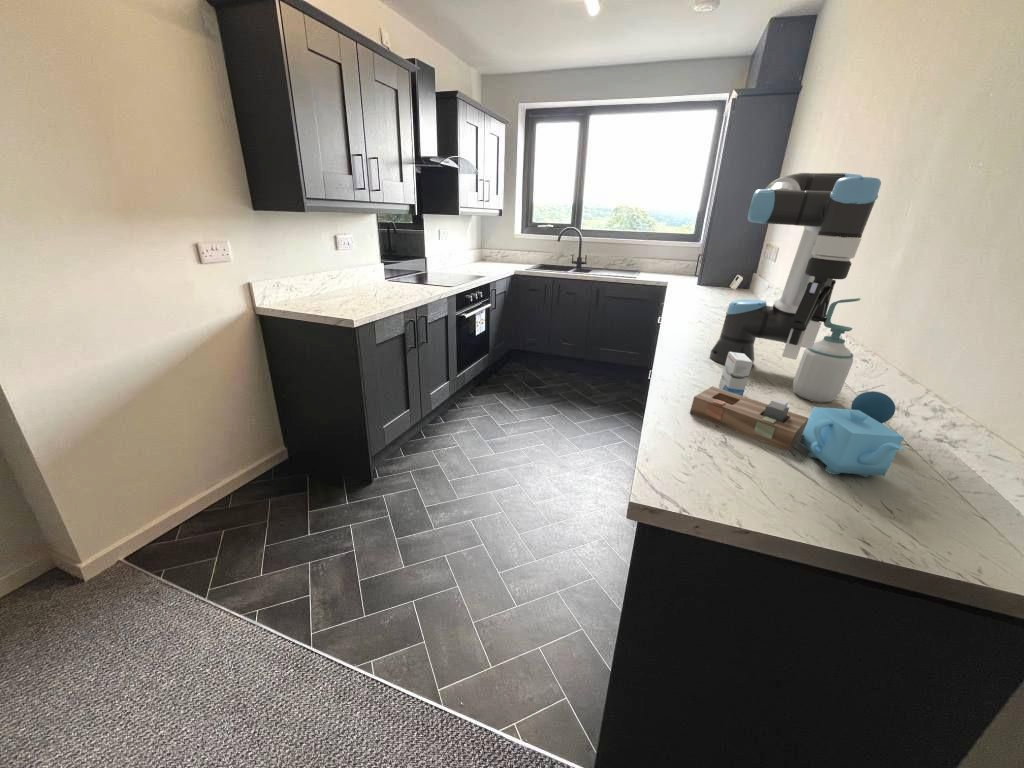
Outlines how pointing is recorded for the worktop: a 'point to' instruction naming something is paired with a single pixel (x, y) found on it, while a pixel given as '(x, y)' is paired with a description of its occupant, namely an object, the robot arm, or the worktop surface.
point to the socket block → (748, 417)
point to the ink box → (735, 373)
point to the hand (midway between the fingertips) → (797, 352)
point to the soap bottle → (825, 364)
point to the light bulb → (875, 405)
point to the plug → (777, 410)
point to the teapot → (850, 441)
